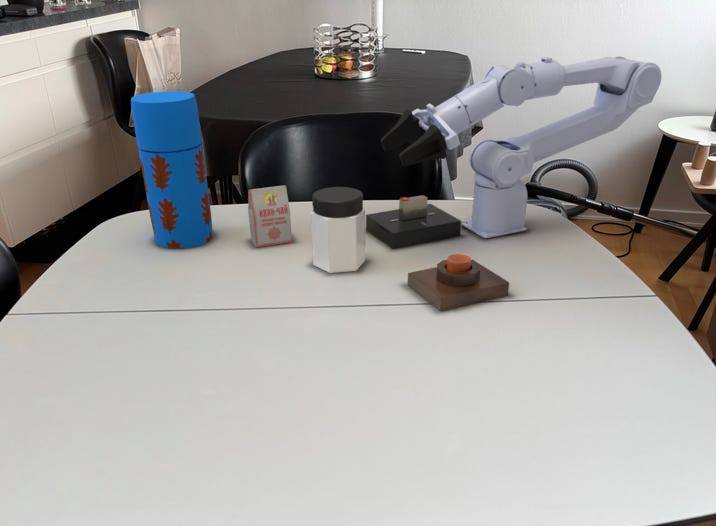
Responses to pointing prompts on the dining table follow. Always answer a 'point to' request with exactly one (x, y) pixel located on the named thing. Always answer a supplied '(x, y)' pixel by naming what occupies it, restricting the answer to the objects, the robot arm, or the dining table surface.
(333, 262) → the jar
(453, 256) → the button
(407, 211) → the knob
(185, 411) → the dining table surface
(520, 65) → the robot arm
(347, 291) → the dining table surface
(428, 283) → the button block
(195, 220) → the thermos
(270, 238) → the tea bag
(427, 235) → the panel
